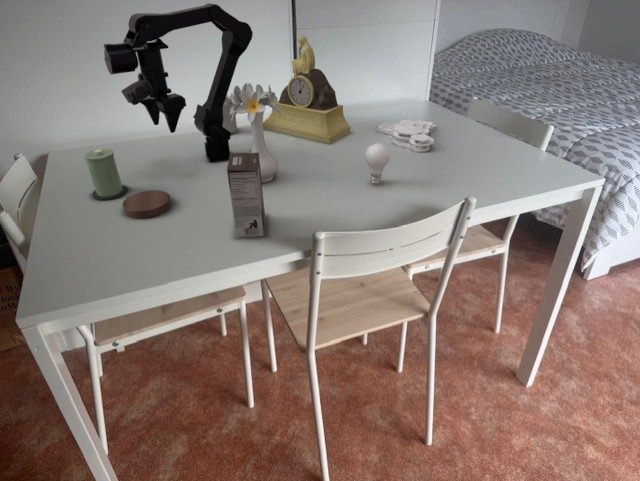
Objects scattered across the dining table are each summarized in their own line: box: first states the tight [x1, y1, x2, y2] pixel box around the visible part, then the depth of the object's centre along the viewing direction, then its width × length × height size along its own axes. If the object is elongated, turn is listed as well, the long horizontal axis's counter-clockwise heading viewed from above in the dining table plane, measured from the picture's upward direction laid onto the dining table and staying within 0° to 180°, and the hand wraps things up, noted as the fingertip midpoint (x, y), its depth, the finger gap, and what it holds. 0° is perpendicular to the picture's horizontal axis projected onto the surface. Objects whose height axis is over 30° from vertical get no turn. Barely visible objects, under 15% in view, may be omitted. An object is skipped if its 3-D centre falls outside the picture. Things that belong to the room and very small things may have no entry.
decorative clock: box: [263, 34, 351, 145], centre depth 148 cm, size 28×13×30 cm, turn 55°
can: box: [222, 94, 238, 135], centre depth 153 cm, size 8×8×12 cm
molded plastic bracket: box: [375, 119, 437, 153], centre depth 149 cm, size 23×25×4 cm
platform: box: [122, 189, 172, 219], centre depth 110 cm, size 11×11×2 cm
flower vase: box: [227, 82, 282, 184], centre depth 117 cm, size 13×18×25 cm
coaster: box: [92, 184, 128, 201], centre depth 117 cm, size 8×8×1 cm
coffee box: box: [226, 152, 266, 239], centre depth 97 cm, size 9×6×16 cm
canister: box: [83, 148, 123, 197], centre depth 114 cm, size 7×7×11 cm
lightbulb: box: [364, 142, 391, 185], centre depth 117 cm, size 6×6×11 cm
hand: (164, 128), depth 123 cm, fingers open, 9 cm apart
